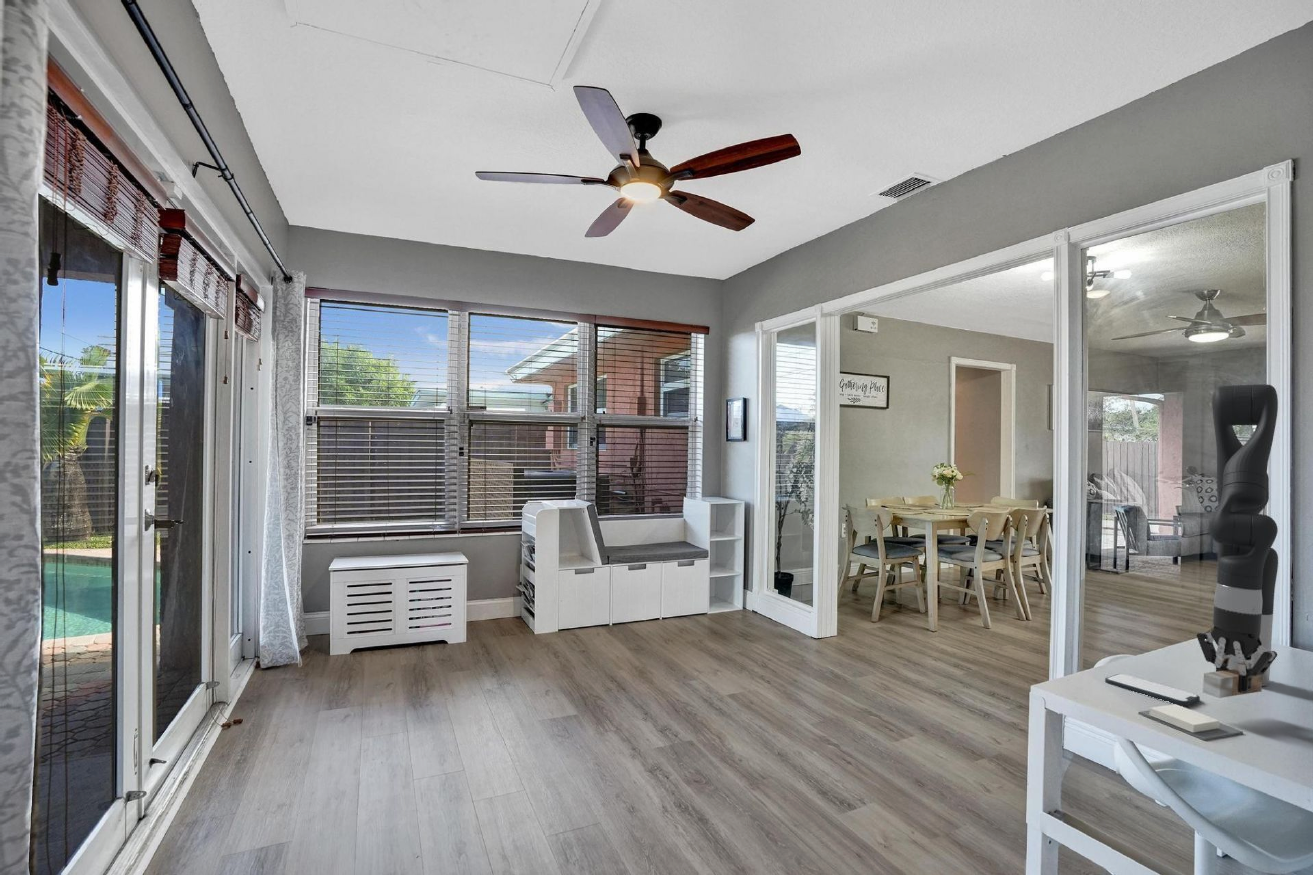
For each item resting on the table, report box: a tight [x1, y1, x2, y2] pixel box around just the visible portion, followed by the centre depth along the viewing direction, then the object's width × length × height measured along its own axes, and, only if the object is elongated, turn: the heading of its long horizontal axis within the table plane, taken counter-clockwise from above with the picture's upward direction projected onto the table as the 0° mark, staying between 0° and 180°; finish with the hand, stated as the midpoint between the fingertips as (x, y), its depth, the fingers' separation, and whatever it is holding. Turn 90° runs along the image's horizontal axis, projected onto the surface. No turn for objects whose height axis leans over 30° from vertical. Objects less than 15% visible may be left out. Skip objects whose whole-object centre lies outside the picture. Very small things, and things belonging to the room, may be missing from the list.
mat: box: [1138, 709, 1244, 742], centre depth 132 cm, size 12×12×1 cm
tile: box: [1149, 704, 1220, 733], centre depth 132 cm, size 2×8×8 cm
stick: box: [1202, 669, 1263, 699], centre depth 138 cm, size 14×3×4 cm, turn 110°
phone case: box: [1104, 673, 1201, 708], centre depth 150 cm, size 9×2×16 cm
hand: (1232, 688), depth 138 cm, fingers closed on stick, 3 cm apart
